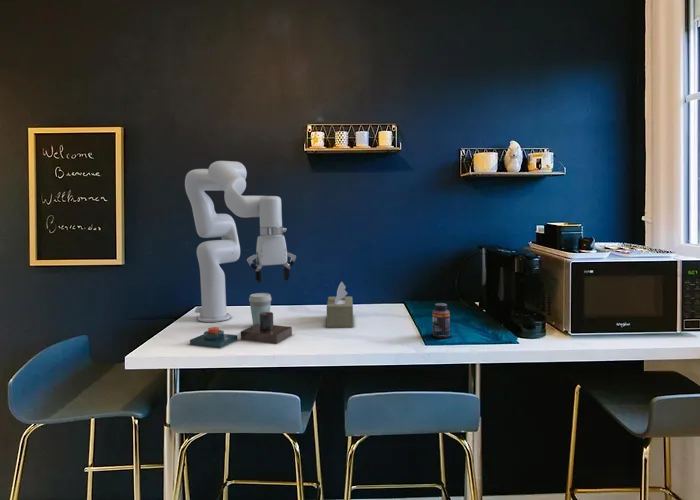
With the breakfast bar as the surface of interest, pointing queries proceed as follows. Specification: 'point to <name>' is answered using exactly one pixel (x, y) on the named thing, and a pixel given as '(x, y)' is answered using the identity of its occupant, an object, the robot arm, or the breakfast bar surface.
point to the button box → (213, 339)
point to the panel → (266, 334)
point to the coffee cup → (259, 305)
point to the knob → (266, 321)
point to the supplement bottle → (441, 320)
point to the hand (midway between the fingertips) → (272, 281)
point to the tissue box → (340, 309)
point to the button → (213, 330)
